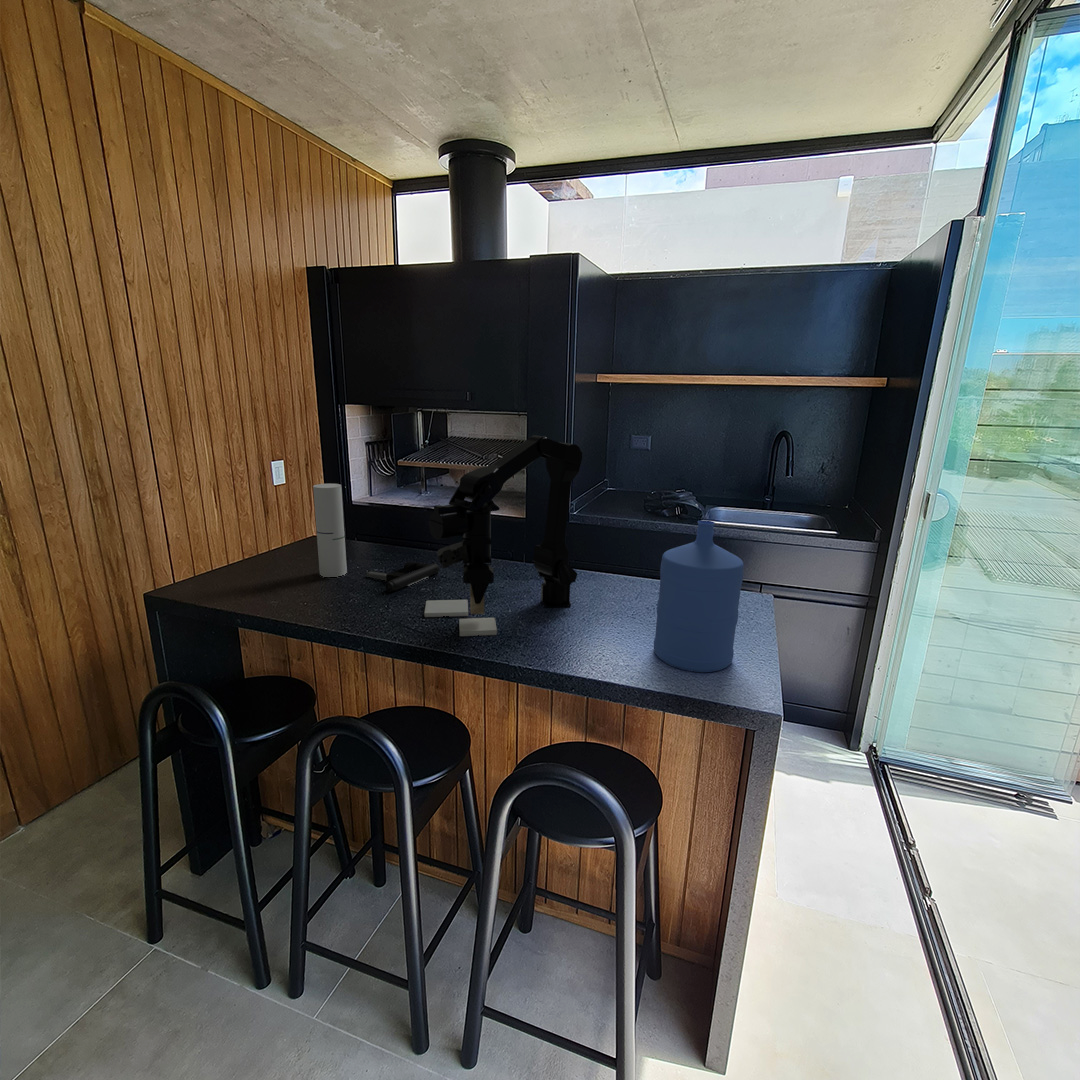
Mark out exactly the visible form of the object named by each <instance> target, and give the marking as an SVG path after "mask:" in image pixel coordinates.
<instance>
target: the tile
mask: <svg viewBox="0 0 1080 1080" xmlns="http://www.w3.org/2000/svg"><path fill="white" fill-rule="evenodd" d="M458 621H459V623H458V624H459V628H458V629H459V637H471V636H472V637H473V636H476V637H478V635H479V636H497V635H498V628H497V624H496V617H473V618H459V620H458Z"/></svg>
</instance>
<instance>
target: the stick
mask: <svg viewBox="0 0 1080 1080" xmlns="http://www.w3.org/2000/svg"><path fill="white" fill-rule="evenodd" d="M469 588H470V589H469V594H470V595H469V600H470V601H469V603H470V604H469V608H470V611H469V612H470V613H469V614H470V615H485V595H484V596H483V598H482V601H481V603H480V604H475V601H474V596H473V591H472V587H471V584H469Z"/></svg>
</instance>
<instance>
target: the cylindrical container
mask: <svg viewBox="0 0 1080 1080" xmlns="http://www.w3.org/2000/svg"><path fill="white" fill-rule="evenodd" d="M312 488H313V489H312V490H313V503H314V504H313V505H314V515H315V526H316V527H315V530H316V542H317V544H316V545H317V553H318V567H319V576H320V575H321V576H323V577H322V578H324V577H337V578H339V577H338V576H342V575H344V576H346V575H347V574H348V569H347V567H348V566H347V554H346V553H347V552H346V540H345V537H346V536H345V523H344V522H345V521H344V508H343V507H344V506H343V505H344V504H343V492H342V491H343V490H342V489H343V488H342V484H339V483H318V484H314V485H313V486H312ZM346 573H347V574H346ZM345 574H346V575H345ZM321 576H320V577H321ZM342 577H343V576H342Z"/></svg>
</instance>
